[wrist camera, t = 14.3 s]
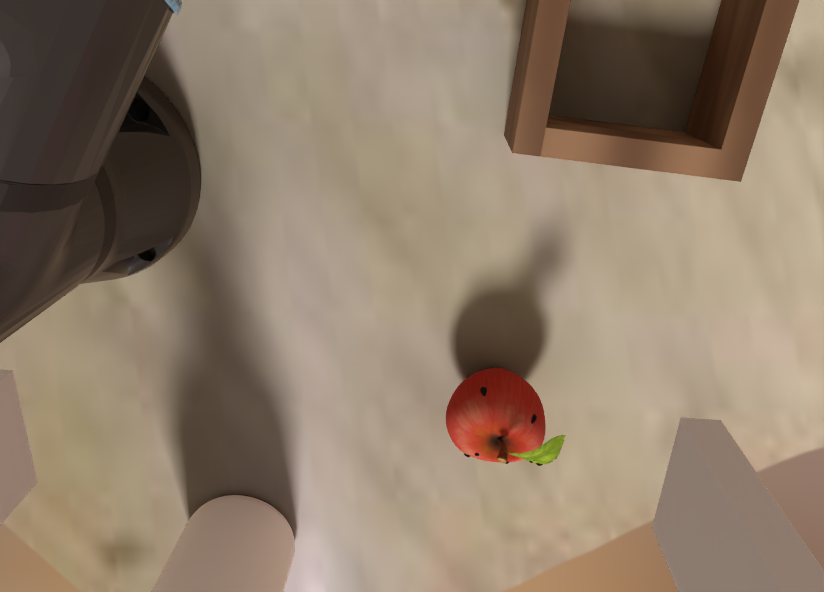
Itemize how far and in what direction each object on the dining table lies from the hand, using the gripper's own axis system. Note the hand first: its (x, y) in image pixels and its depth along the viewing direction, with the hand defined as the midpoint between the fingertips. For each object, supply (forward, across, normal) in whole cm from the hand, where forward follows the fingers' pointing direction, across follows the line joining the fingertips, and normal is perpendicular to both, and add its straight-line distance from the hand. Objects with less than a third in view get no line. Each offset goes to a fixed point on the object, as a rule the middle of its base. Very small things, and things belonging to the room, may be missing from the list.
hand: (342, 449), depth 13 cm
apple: (+32, +7, -17) cm, 38 cm away
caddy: (+32, +13, +7) cm, 36 cm away
